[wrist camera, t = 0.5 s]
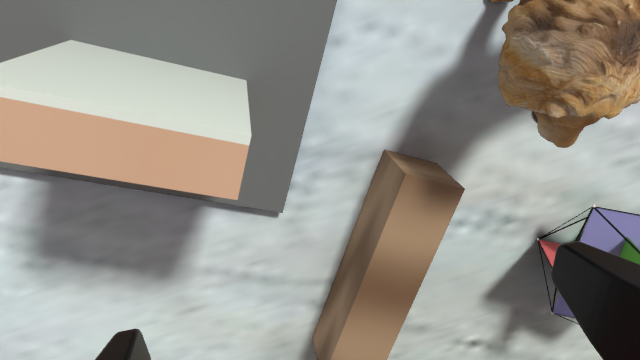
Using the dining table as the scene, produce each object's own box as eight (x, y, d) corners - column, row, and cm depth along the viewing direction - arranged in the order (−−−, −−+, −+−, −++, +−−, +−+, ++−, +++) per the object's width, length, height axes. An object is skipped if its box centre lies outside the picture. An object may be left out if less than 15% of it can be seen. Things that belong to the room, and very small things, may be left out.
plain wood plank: (358, 341, 28) (374, 387, 24) (311, 334, 27) (321, 381, 24) (434, 161, 24) (464, 188, 21) (382, 147, 23) (405, 174, 20)
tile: (237, 123, 20) (237, 200, 13) (67, 89, 19) (-41, 154, 11) (246, 80, 20) (251, 135, 12) (70, 40, 18) (-43, 76, 11)
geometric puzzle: (495, 311, 25) (665, 403, 20) (531, 199, 23) (735, 274, 18) (539, 268, 30) (684, 333, 25) (574, 173, 28) (741, 225, 23)
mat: (281, 208, 23) (282, 212, 23) (-10, 160, 20) (-16, 164, 19) (375, -159, 18) (378, -163, 17) (-7, -307, 14) (-15, -317, 14)
